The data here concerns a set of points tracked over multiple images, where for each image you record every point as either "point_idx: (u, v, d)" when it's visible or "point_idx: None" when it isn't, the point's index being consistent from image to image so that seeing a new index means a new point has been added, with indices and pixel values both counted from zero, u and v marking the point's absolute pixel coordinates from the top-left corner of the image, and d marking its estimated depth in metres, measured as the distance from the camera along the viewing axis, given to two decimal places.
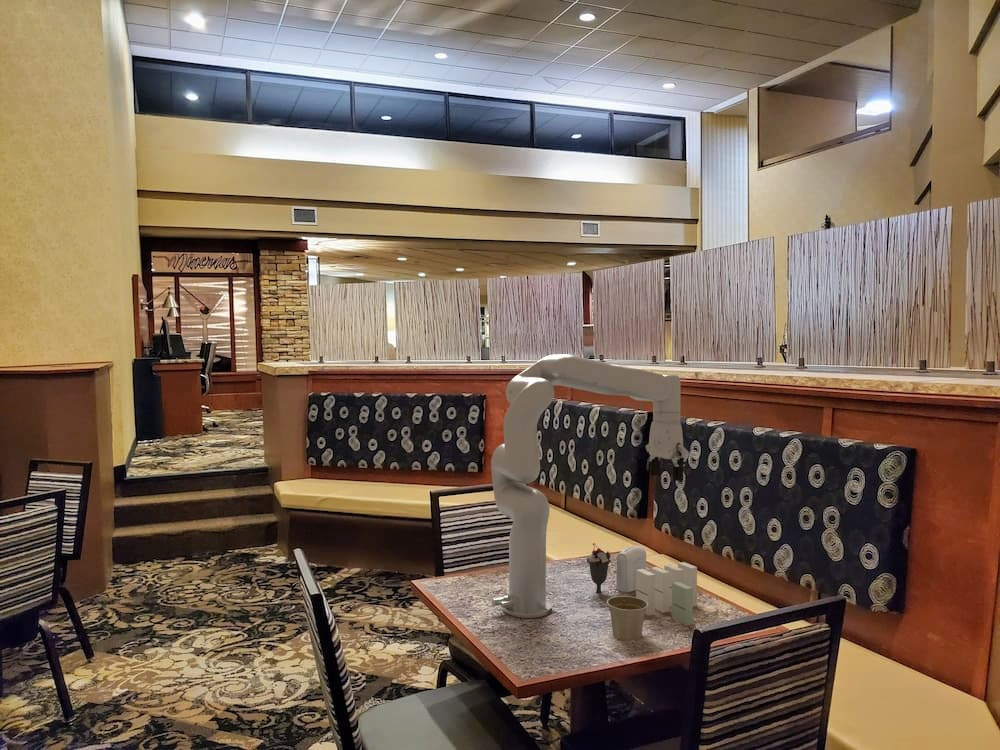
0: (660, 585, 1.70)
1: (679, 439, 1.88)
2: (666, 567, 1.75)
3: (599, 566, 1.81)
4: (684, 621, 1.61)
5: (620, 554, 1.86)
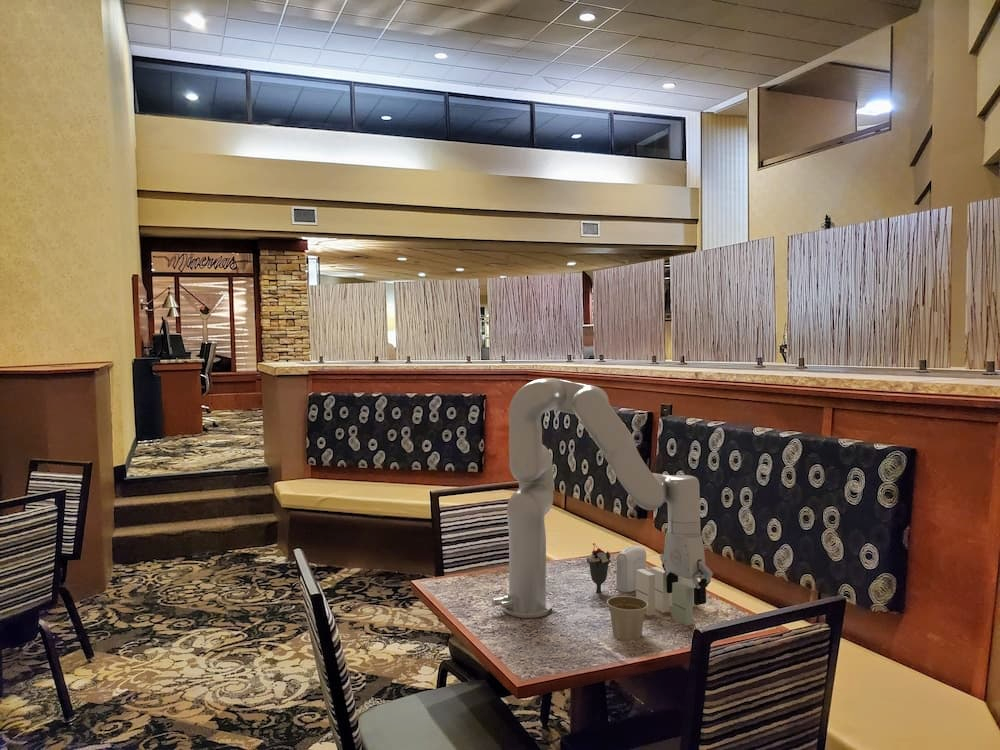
0: (660, 585, 1.70)
1: (700, 555, 1.59)
2: None
3: (599, 566, 1.81)
4: (684, 621, 1.61)
5: (620, 554, 1.86)
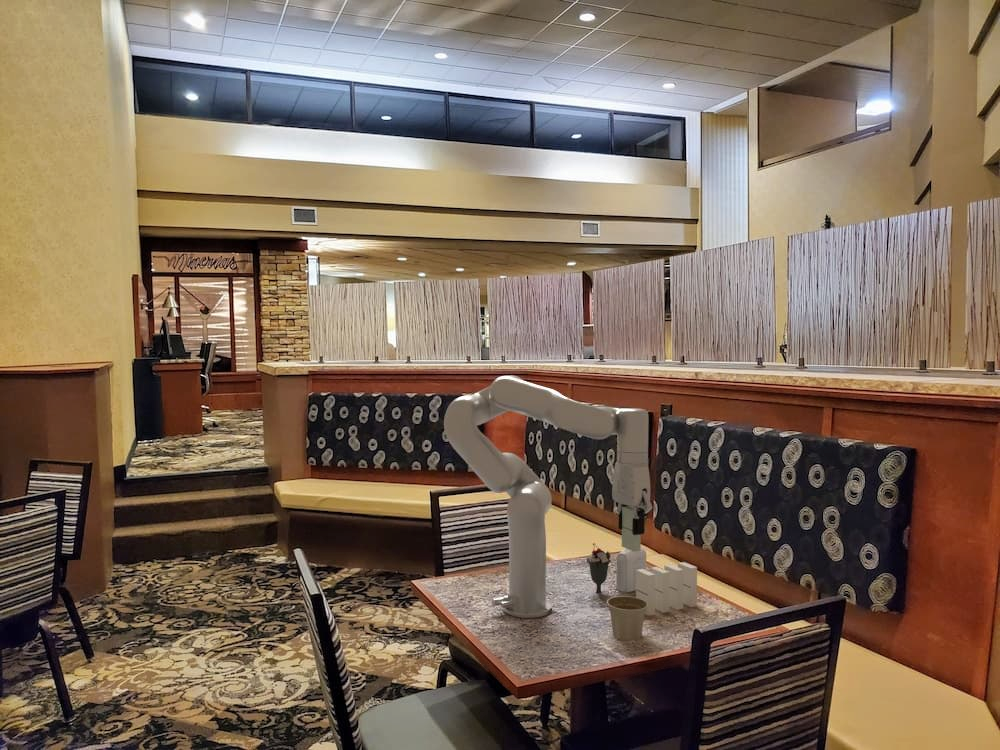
0: (660, 585, 1.70)
1: (645, 484, 1.63)
2: (666, 567, 1.75)
3: (599, 566, 1.81)
4: (632, 543, 1.65)
5: (620, 554, 1.86)
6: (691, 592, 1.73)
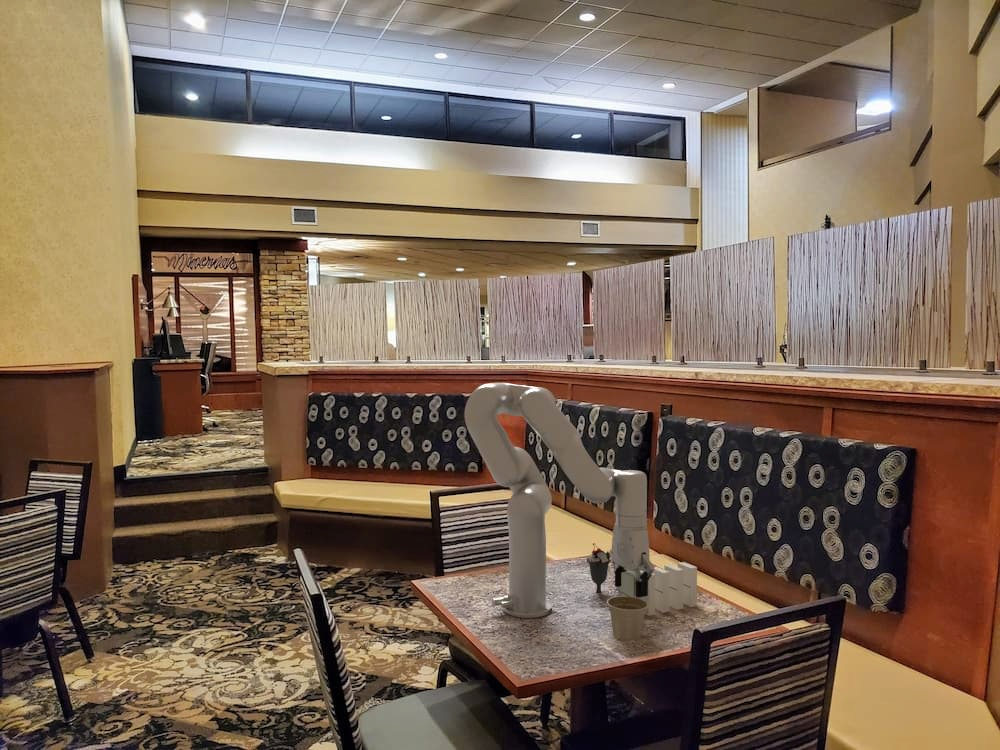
0: (660, 585, 1.70)
1: (644, 548, 1.63)
2: (666, 567, 1.75)
3: (599, 566, 1.81)
4: None
5: None
6: (691, 592, 1.73)
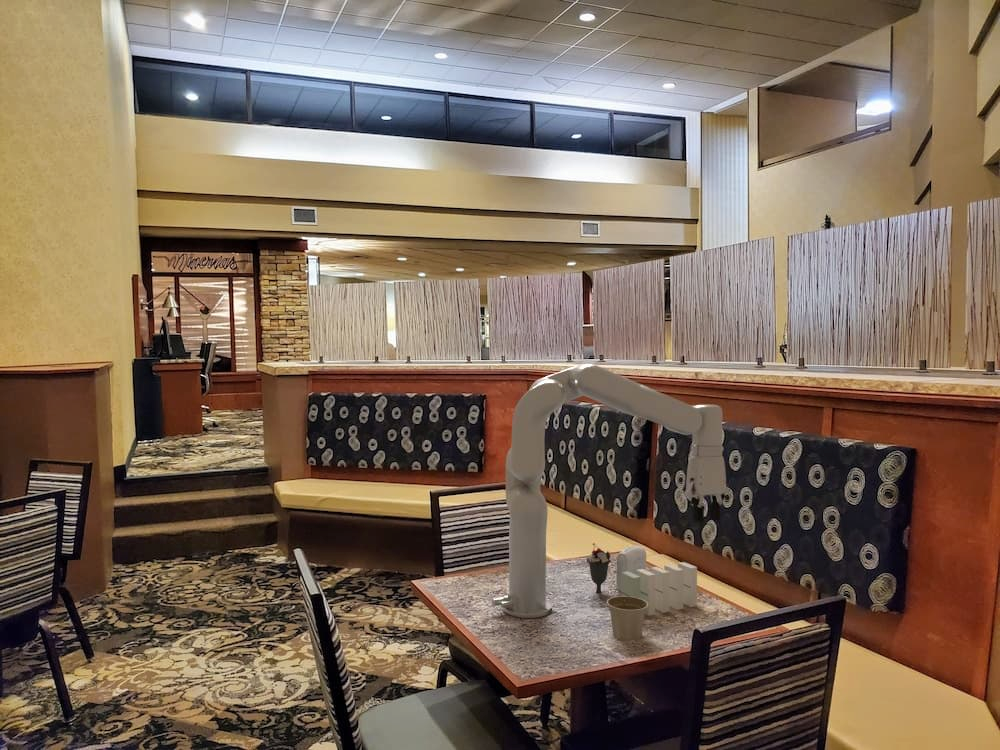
0: (660, 585, 1.70)
1: (693, 474, 1.75)
2: (666, 567, 1.75)
3: (599, 566, 1.81)
4: None
5: (620, 554, 1.86)
6: (691, 592, 1.73)
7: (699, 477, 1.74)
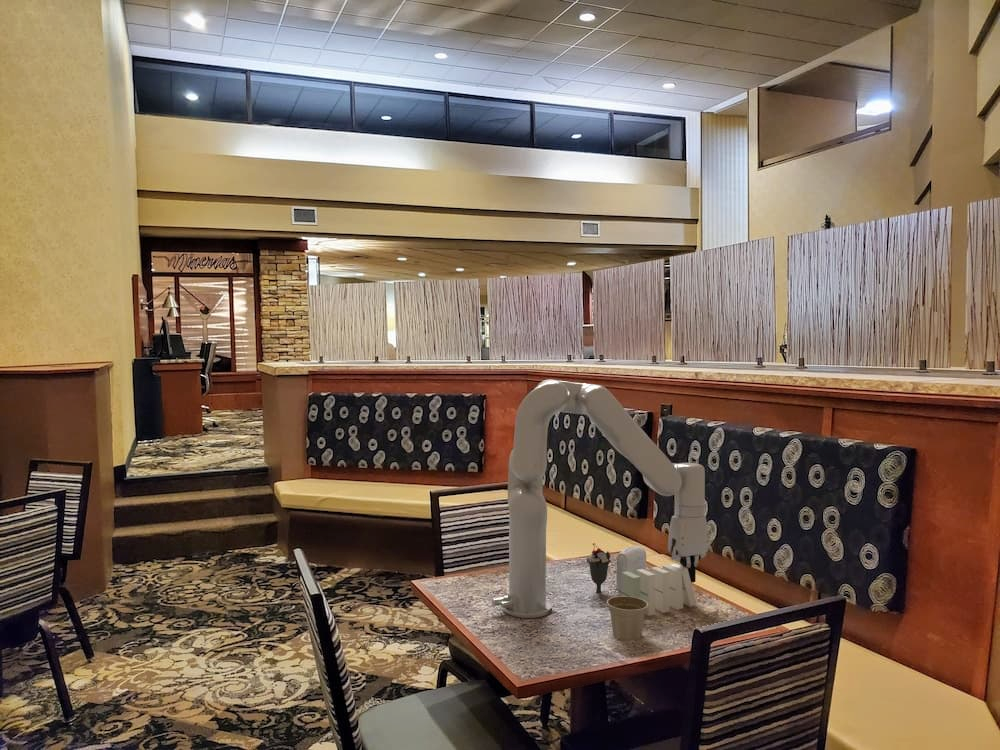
0: (660, 585, 1.70)
1: (675, 535, 1.73)
2: (664, 568, 1.74)
3: (599, 566, 1.81)
4: None
5: (620, 554, 1.86)
6: (687, 593, 1.73)
7: (681, 538, 1.72)
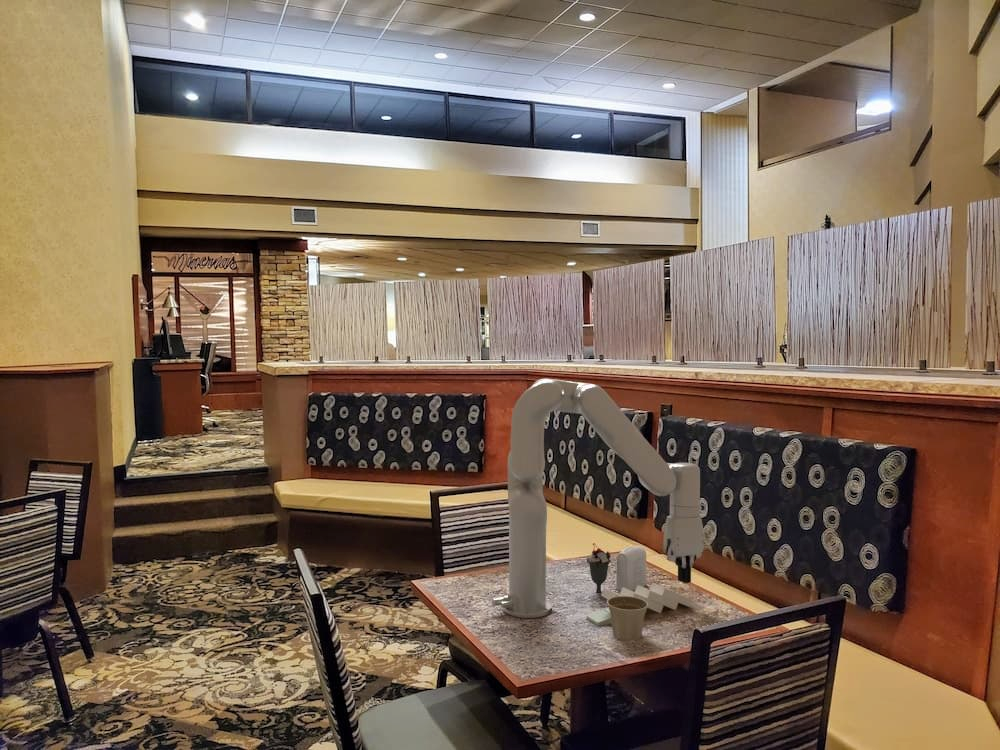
0: None
1: (670, 535, 1.72)
2: (638, 593, 1.71)
3: (599, 566, 1.81)
4: None
5: (620, 554, 1.86)
6: (679, 602, 1.71)
7: (676, 538, 1.71)
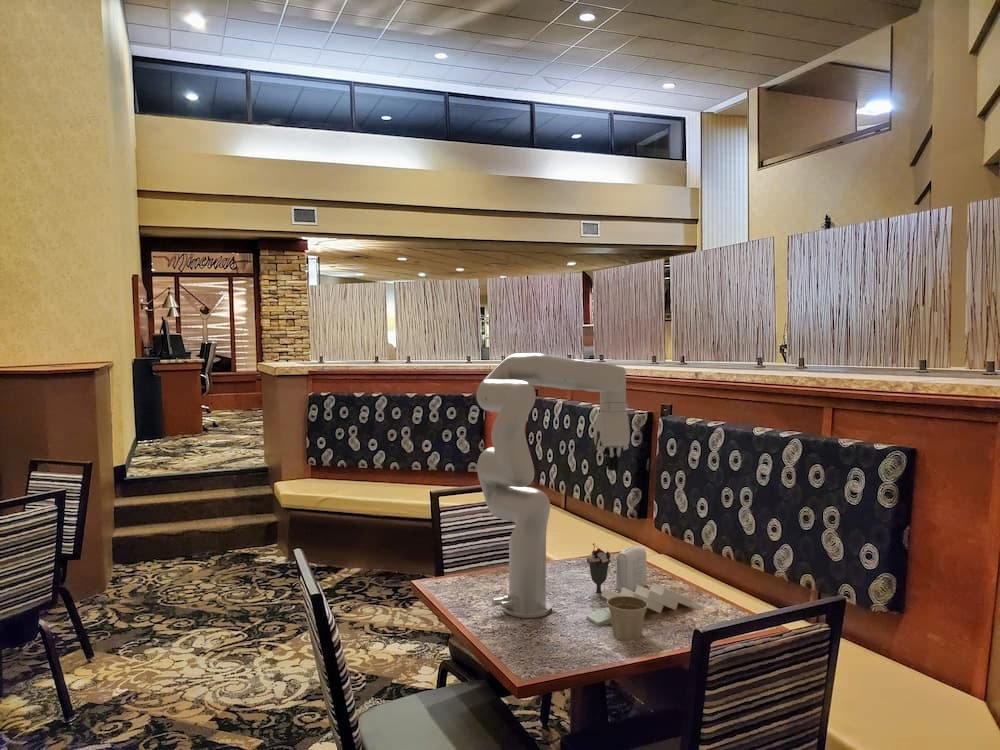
0: None
1: (599, 428, 1.97)
2: (638, 593, 1.71)
3: (599, 566, 1.81)
4: None
5: (620, 554, 1.86)
6: (679, 602, 1.71)
7: (604, 430, 1.96)
